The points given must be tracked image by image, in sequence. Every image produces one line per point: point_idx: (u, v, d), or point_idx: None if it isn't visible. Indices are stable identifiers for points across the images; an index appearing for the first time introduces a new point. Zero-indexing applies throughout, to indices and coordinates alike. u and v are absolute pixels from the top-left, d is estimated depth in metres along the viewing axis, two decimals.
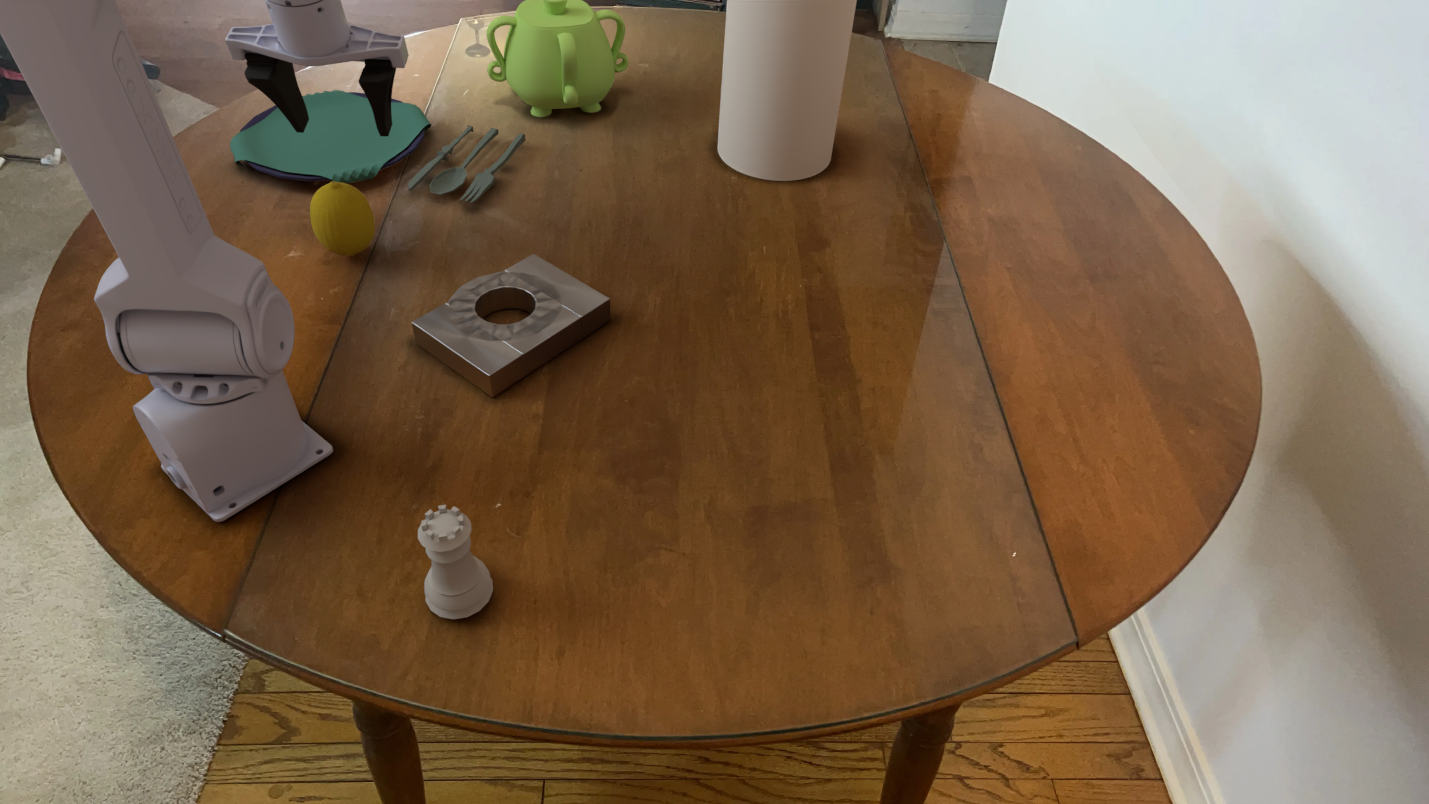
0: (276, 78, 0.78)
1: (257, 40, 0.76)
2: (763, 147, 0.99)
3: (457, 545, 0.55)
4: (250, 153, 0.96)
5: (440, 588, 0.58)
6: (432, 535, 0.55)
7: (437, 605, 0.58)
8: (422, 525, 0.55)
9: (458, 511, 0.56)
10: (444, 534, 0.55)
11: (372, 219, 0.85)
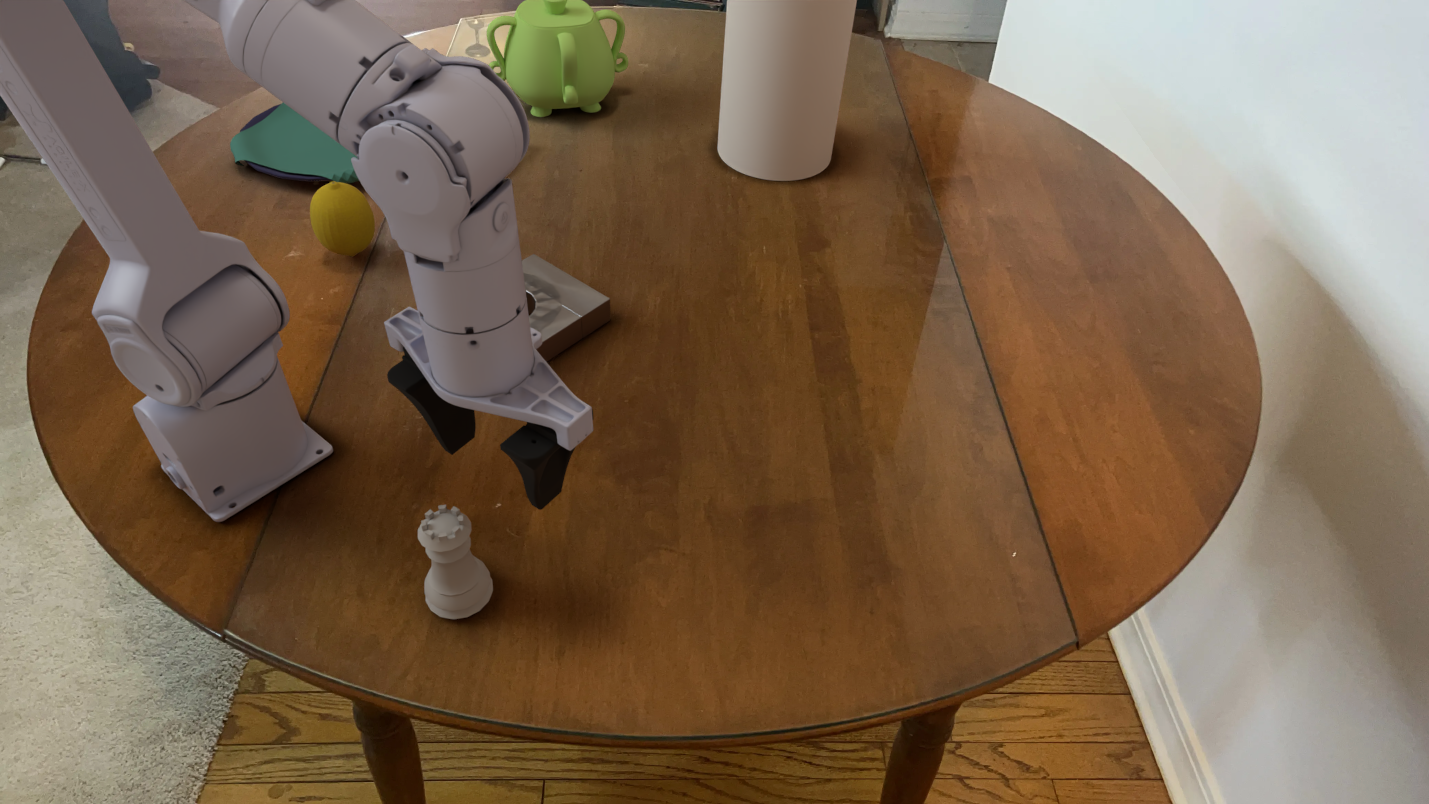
0: (423, 390, 0.54)
1: (416, 338, 0.53)
2: (763, 147, 0.99)
3: (457, 545, 0.55)
4: (250, 153, 0.96)
5: (440, 588, 0.58)
6: (432, 535, 0.55)
7: (437, 605, 0.58)
8: (422, 525, 0.55)
9: (458, 511, 0.56)
10: (444, 534, 0.55)
11: (372, 219, 0.85)
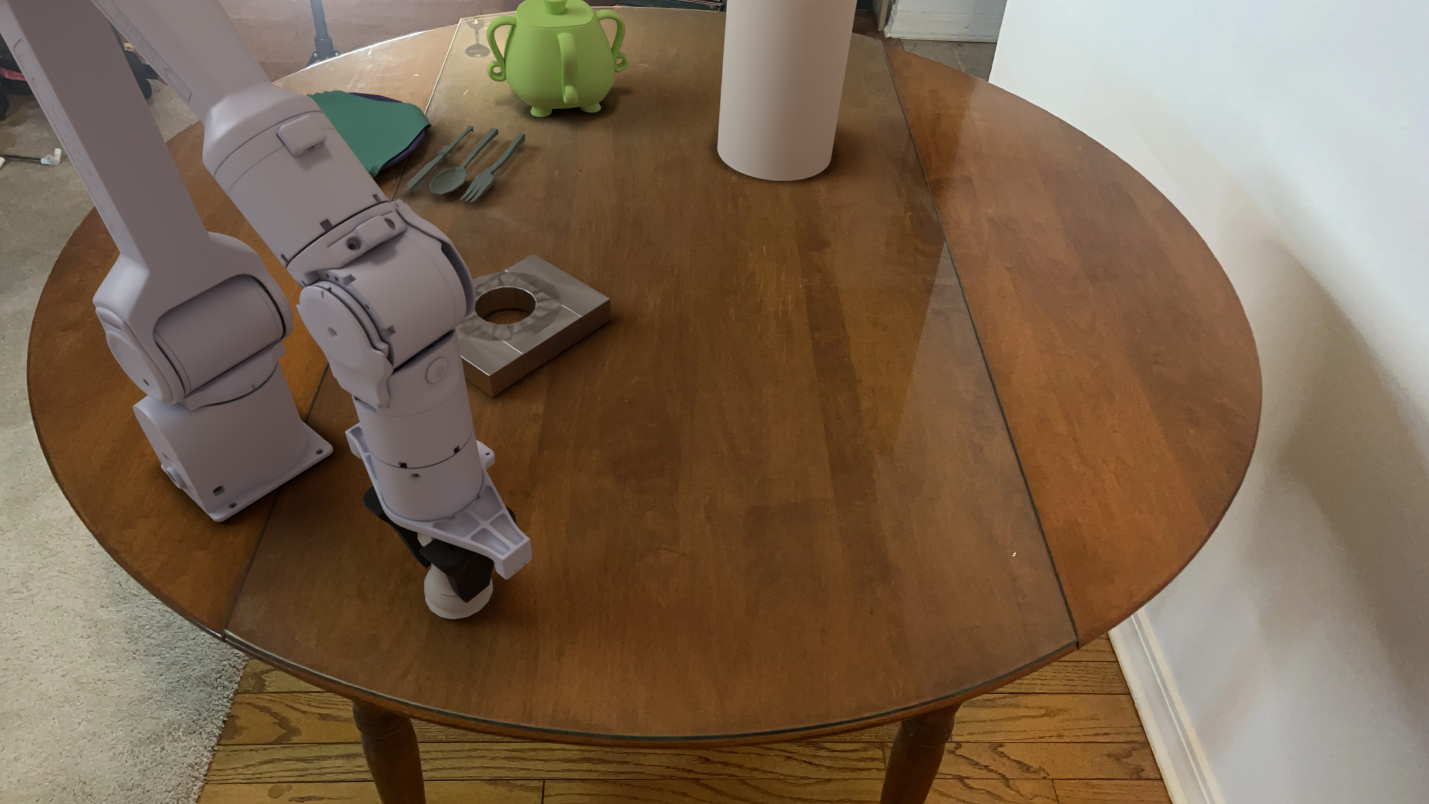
0: None
1: None
2: (763, 147, 0.99)
3: None
4: None
5: (440, 588, 0.58)
6: None
7: (437, 605, 0.58)
8: None
9: None
10: None
11: None
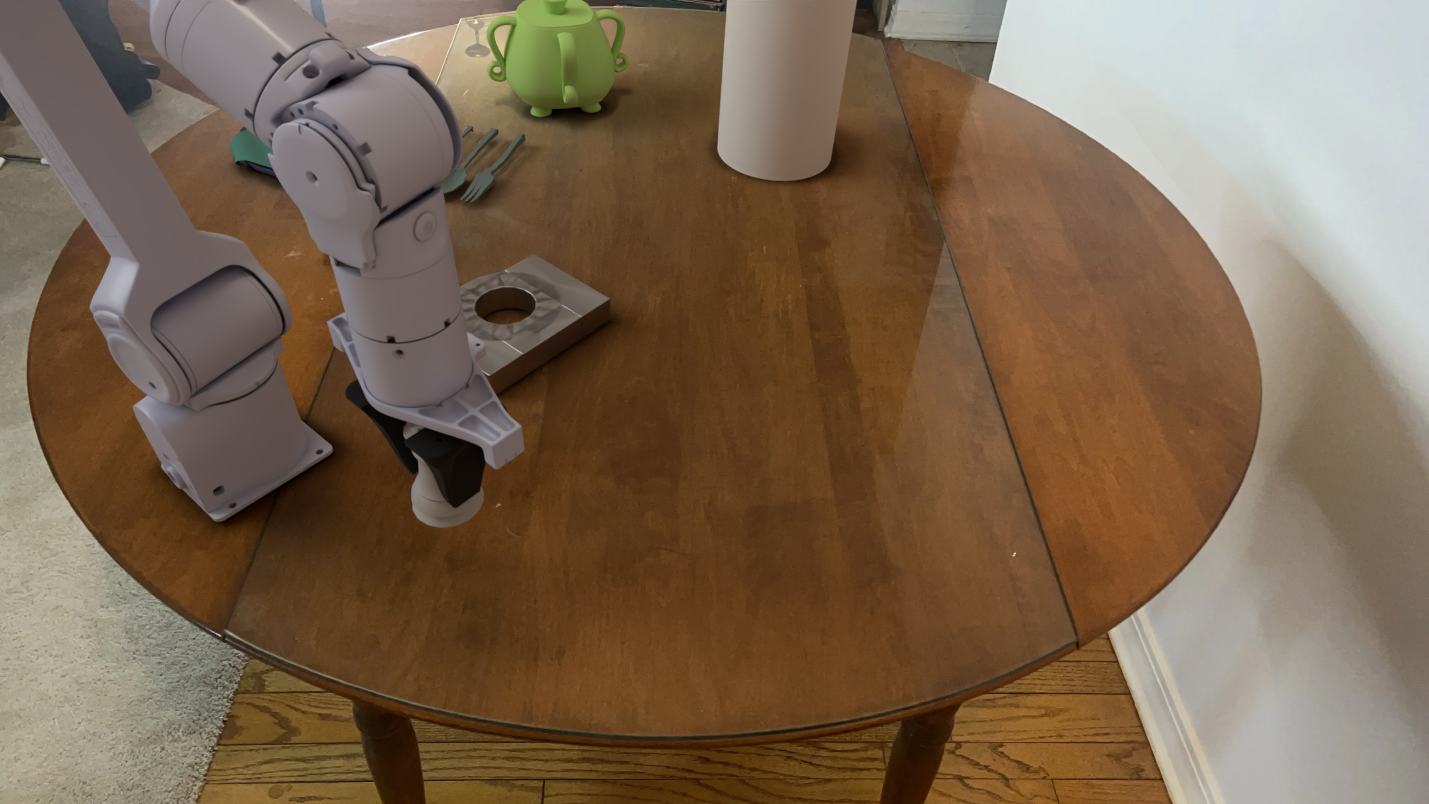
0: None
1: None
2: (763, 147, 0.99)
3: None
4: (250, 153, 0.96)
5: (427, 493, 0.55)
6: (419, 430, 0.51)
7: (424, 512, 0.55)
8: None
9: None
10: None
11: None
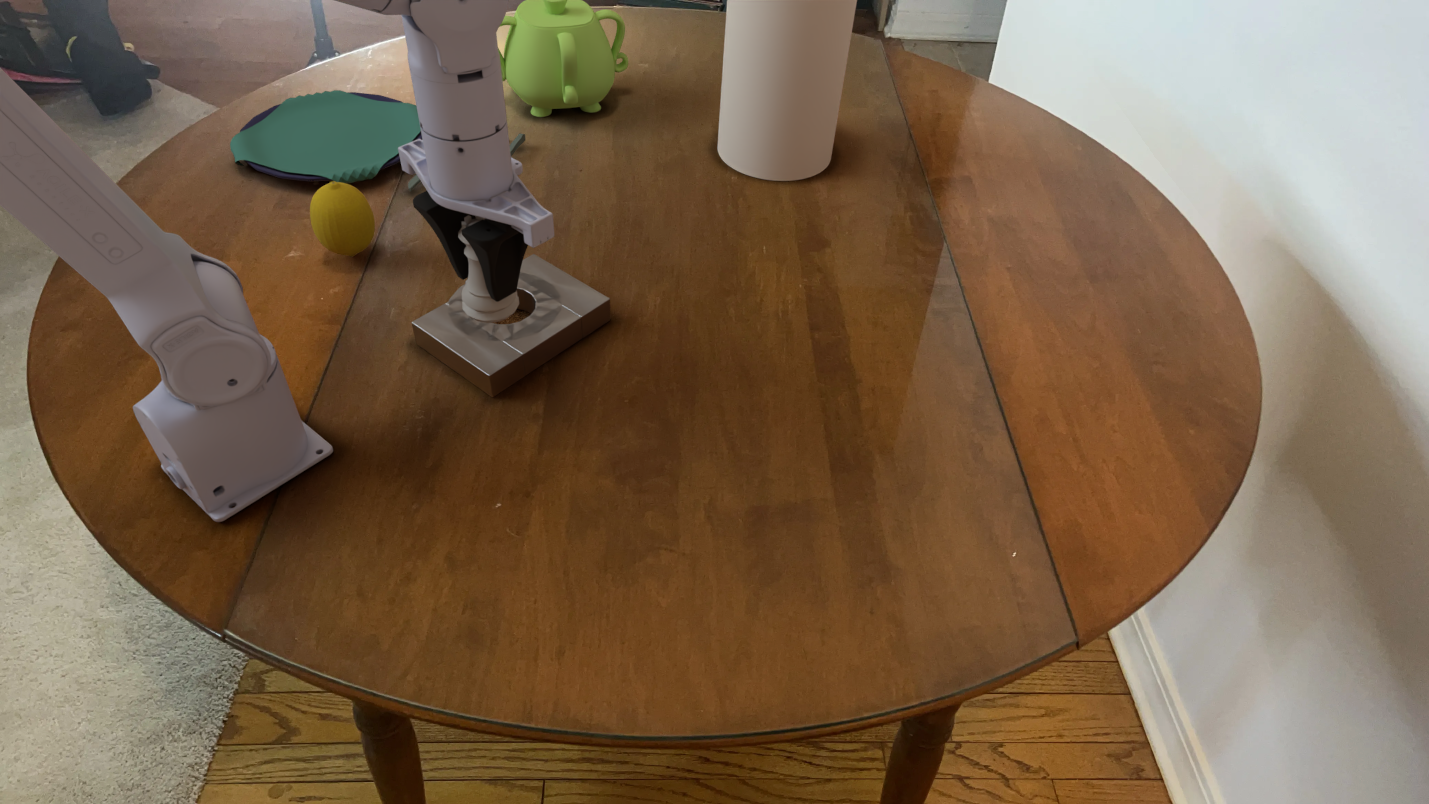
0: (440, 214, 0.66)
1: (422, 159, 0.65)
2: (763, 147, 0.99)
3: None
4: (250, 153, 0.96)
5: (475, 291, 0.69)
6: None
7: (473, 306, 0.69)
8: (462, 224, 0.66)
9: None
10: None
11: (372, 219, 0.85)
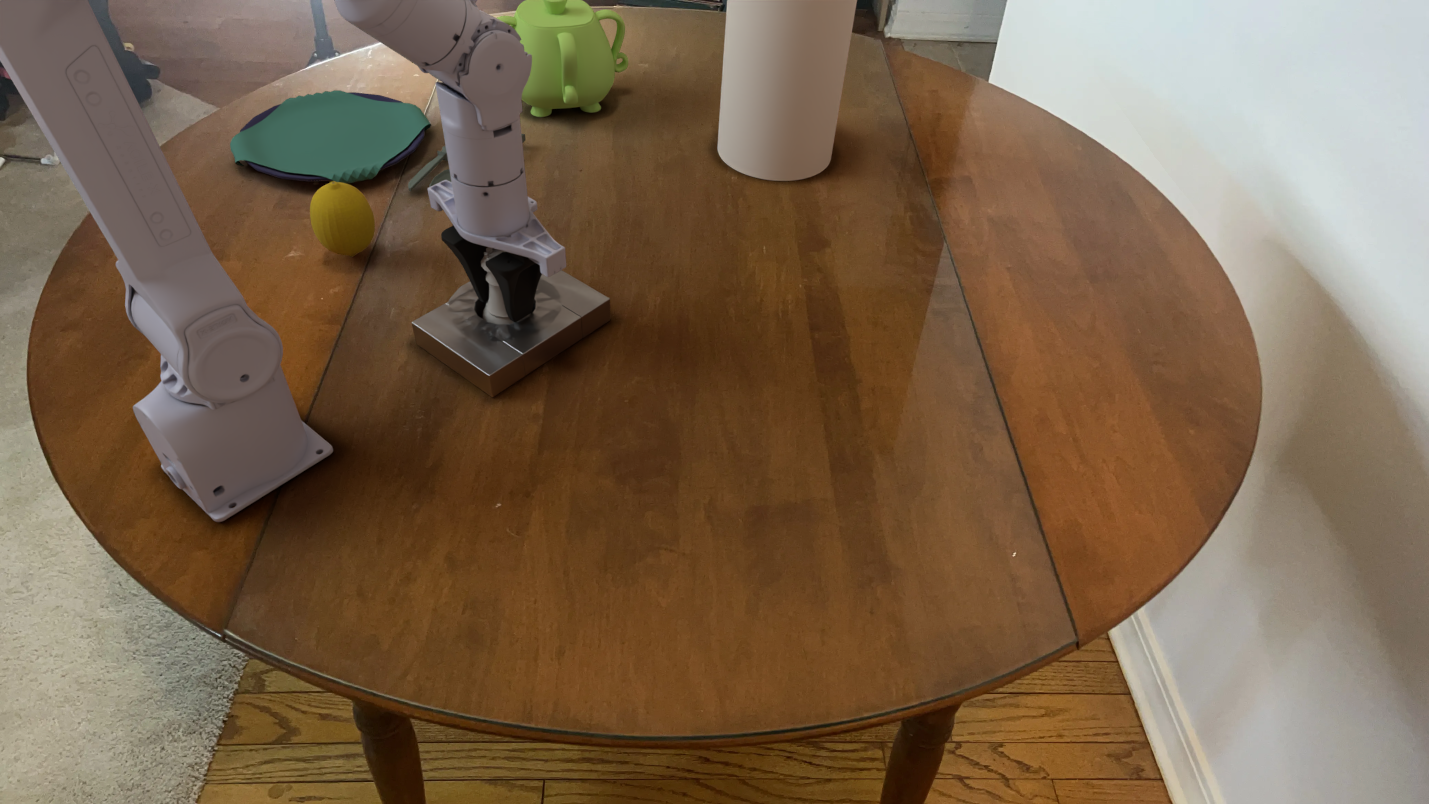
0: (465, 246, 0.75)
1: (449, 199, 0.75)
2: (763, 147, 0.99)
3: None
4: (250, 153, 0.96)
5: (495, 312, 0.78)
6: None
7: None
8: (485, 254, 0.75)
9: None
10: None
11: (372, 219, 0.85)
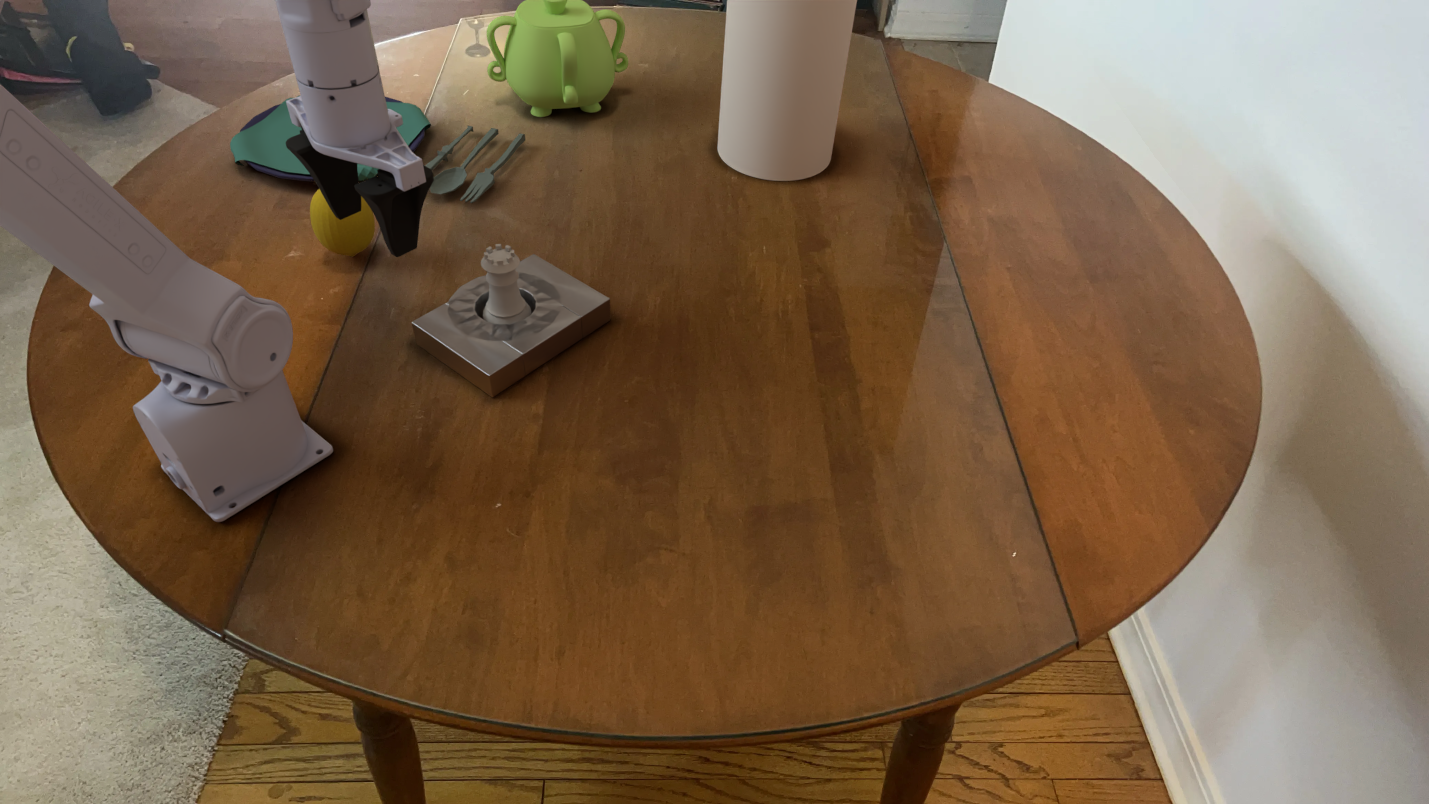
0: (311, 154, 0.71)
1: None
2: (763, 147, 0.99)
3: (510, 270, 0.75)
4: (250, 153, 0.96)
5: (495, 312, 0.78)
6: (492, 260, 0.75)
7: None
8: (484, 254, 0.75)
9: (510, 248, 0.76)
10: (501, 260, 0.75)
11: (372, 219, 0.85)
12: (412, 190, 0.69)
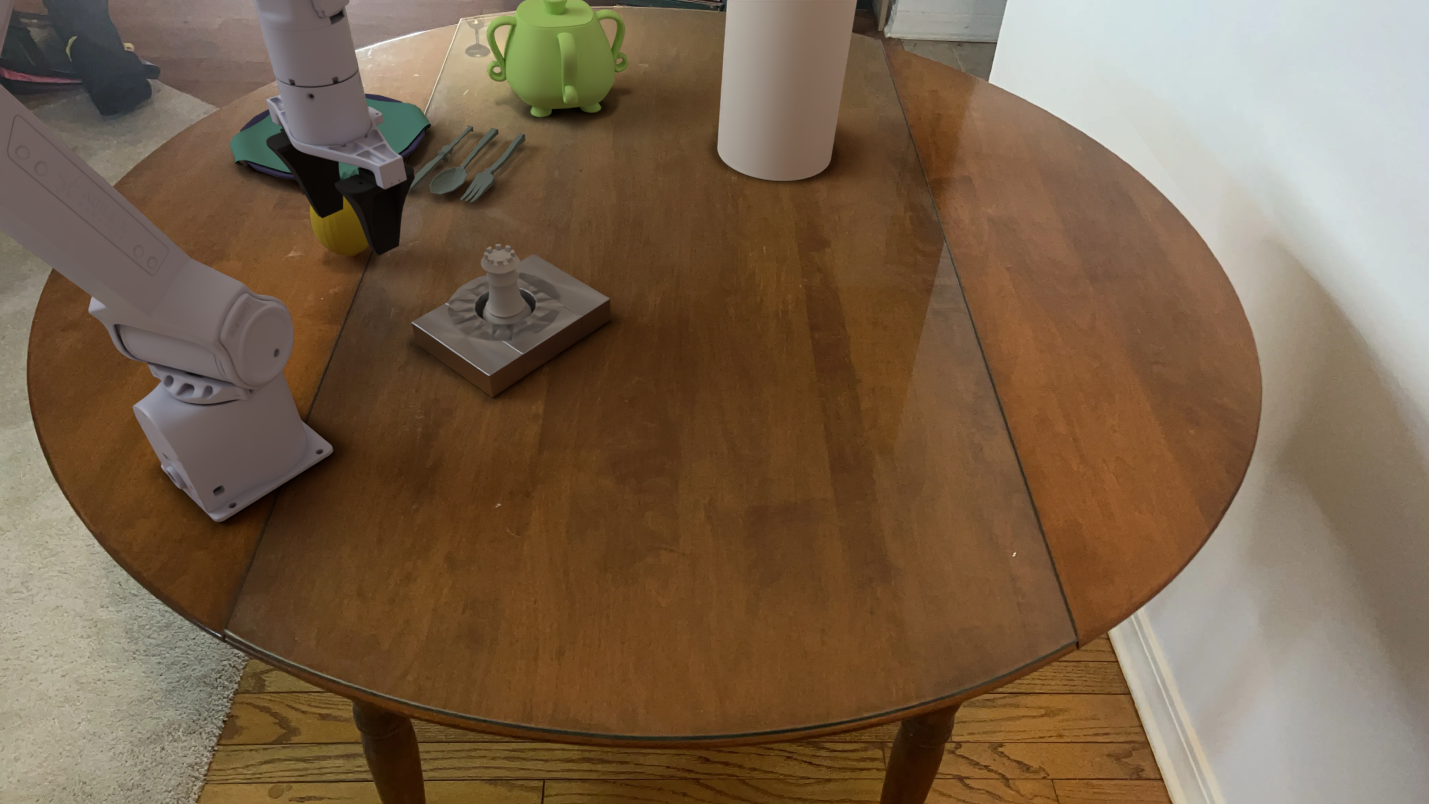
0: (292, 153, 0.70)
1: None
2: (763, 147, 0.99)
3: (510, 270, 0.75)
4: (250, 153, 0.96)
5: (495, 312, 0.78)
6: (492, 260, 0.75)
7: None
8: (484, 254, 0.75)
9: (510, 248, 0.76)
10: (501, 259, 0.75)
11: None
12: (393, 188, 0.69)
